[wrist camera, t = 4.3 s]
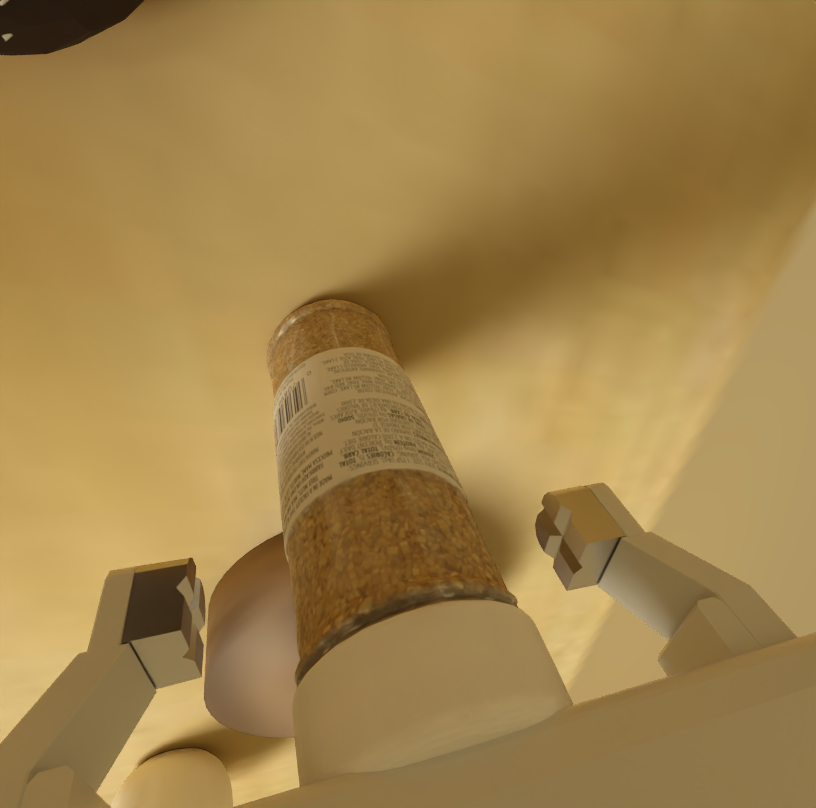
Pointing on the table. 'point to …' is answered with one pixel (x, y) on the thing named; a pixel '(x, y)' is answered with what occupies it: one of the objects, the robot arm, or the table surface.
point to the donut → (56, 23)
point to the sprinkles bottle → (387, 565)
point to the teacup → (177, 782)
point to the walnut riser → (253, 645)
